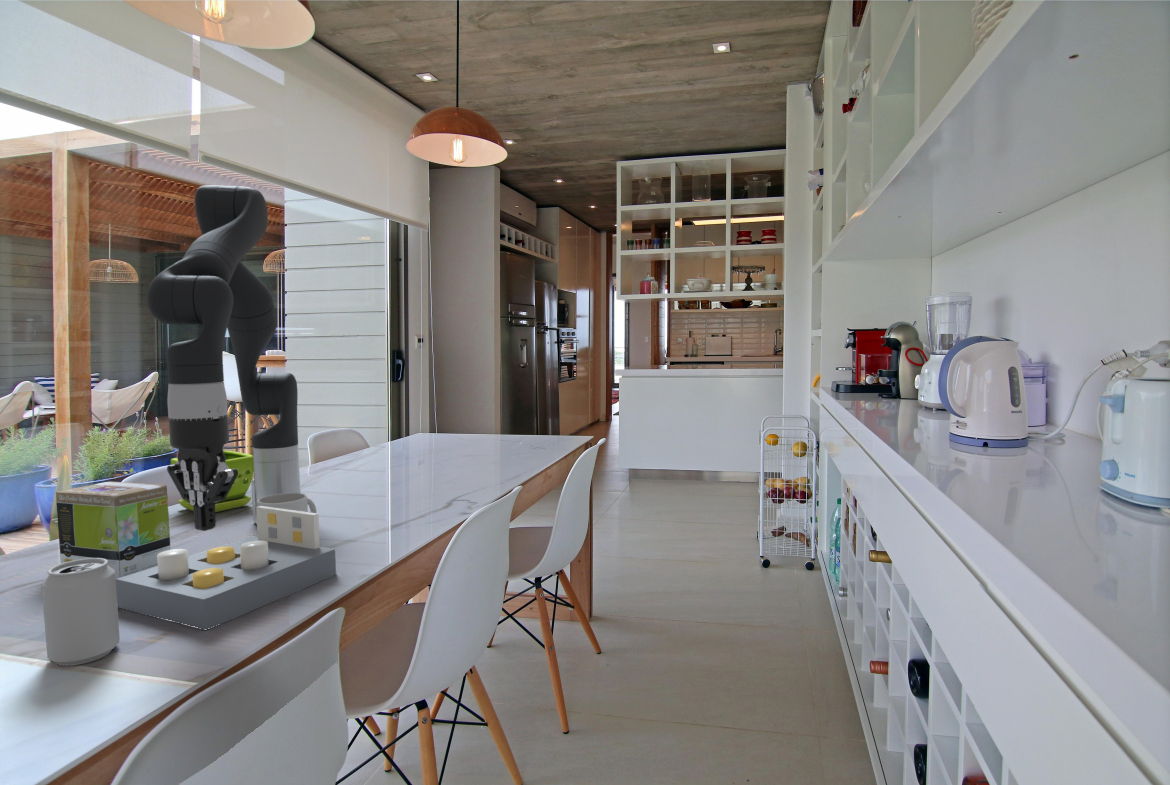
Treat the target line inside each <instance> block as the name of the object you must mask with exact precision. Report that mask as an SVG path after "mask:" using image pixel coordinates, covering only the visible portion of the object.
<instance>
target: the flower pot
mask: <svg viewBox="0 0 1170 785" xmlns="http://www.w3.org/2000/svg"><path fill="white" fill-rule="evenodd" d="M223 452H224V454H225V457H226V462H225V464H226V465H227V466H228V467H229V468H230V469H237V471H238V476H237V478H236V479H235V481H234V483H233V485H232V487H231V489H230V491H229V493H228V495H227V497H226V498H225V500H221V501H218V502H217V503H215V513H218V512H223V511H228V510H233V509H236V508H244V506H246V505H247V504H248V503H249V502H250V501H252V496H250V495H246V494H247V492H248V491H249V488H250V487H251V482H252V480H253V478H254V468H253V454H250V453H243V452H239V451H233V450H223ZM177 461H178V459H177V457H174V458H171V459H170V465H175V463H176V462H177ZM178 504H179V505H180V506H181V507H182V508H184V509H187V511H192V512H194V508H193V505H191V504H190V501H189V500H188V499H187V500H183V498H182V499H179V500H178Z"/></svg>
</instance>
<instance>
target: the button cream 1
mask: <svg viewBox="0 0 1170 785" xmlns="http://www.w3.org/2000/svg"><path fill="white" fill-rule="evenodd" d="M188 553H189V552H188V549H186V548H173V549H171V550H167V551H163V552H161V553H159V554H157V562H158V577H159V580H164V581H171V580H174V579H177V578H180V577H183V576H186V575H189V566H188V556H189V554H188Z"/></svg>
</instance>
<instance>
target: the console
mask: <svg viewBox="0 0 1170 785" xmlns="http://www.w3.org/2000/svg"><path fill="white" fill-rule="evenodd" d="M256 511H257V524H256V527H257V528H256V529H257V535H251V536H248V537H247V536H246V537H245V538H241V539H239V540H235V541H232V542H229V543H225V544H222V545H219V546H217V547H213V548H210V549H207V550H206V549H205V550H204V551H200V552H197V553H194V554H190V555H188V566H189V575H186V576H183V577H180V578H177V579H174V580H171V581H164V580H159V577H158V566H155V567H152V568H149V569H146V570H143V571H140V572H136V573H133V574H130V575H127V576H124V577H120V578H117V579H115V580H116V594H117V608H118V607H119V608H118V609H121V608H122V609H121V610H124V609H126V610H125V611H128V610H130V611H129V612H132V611H134V612H133V613H136V612H138V613H137V614H140V613H143V614H142V615H144V614H147V615H151V616H155V617H159V618H163V619H168V620H172V621H175V622H179V623H183V624H187V625H190V626H195V627H198V628H201V629H208V628H211V627H213V626H216V625H218V624H220V625H222V624H221V623H223V624H225V623H227V622H230V621H232V620H234V619H236V617H237V618H238V617H239V618H240V617H241V616H243V615H245V613H246V614H248V613H250V612H253V611H255V610H257V609H260V608H261V607H265V606H267V605H269V604H271V603H274V602H276V601H278V600H281V599H282V598H286V597H288V596H289V595H292V594H294V593H297V592H299V591H301V590H304V589H305V588H308V587H310V586H313V585H315V584H318V583H319V582H321V581H324V580H326V579H329V578H331V577H333V576H336V575H337V566H336V548H331V547H326V546H321V544H320V542H321V540H320V524H319V523H320V520H319V513H318V512H317V513H311V511H310V512H309V511H308V512H303V511H295V510H288V509H281V508H273V507H266V506H259V507H256ZM260 540H261V541H267V542H268V558H269V566H266V567H263V568H261V569H258V570H255V571H247V570H242V569H241V558H240V545H241V544H243V543H246V542H250V541H260ZM218 547H234V551H235V559H233V560H230V561H227V562H224V563H221V564H218V565H216V564H211V563H207V551H208V550H211V549H214V548H218ZM210 568H221V569H223V575H224V582H223V583H220V584H217V585H215V586H212V587H209V588H207V589H200V588H195V587H193V574H194V573H195V572H197V571H200V570H204V569H210ZM273 601H274V602H273ZM147 615H146V616H147ZM151 616H150V617H151ZM155 617H154V618H155ZM159 618H158V619H159ZM163 619H162V620H163ZM231 619H232V620H231ZM229 620H230V621H229ZM224 622H225V623H224ZM218 626H219V625H218ZM216 627H217V626H216ZM213 628H214V627H213ZM201 629H200V630H201ZM211 629H212V628H211Z"/></svg>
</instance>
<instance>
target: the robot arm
mask: <svg viewBox="0 0 1170 785" xmlns="http://www.w3.org/2000/svg"><path fill="white" fill-rule="evenodd" d="M194 193H195V194H194V209H195V210H194V211H195V215H196V218H197V220H196V221H197V223H198V225H199V229H200V230H199V231H200V233H201V235H200V236H199V237H198V238H196V239H195V240H194V241H193V242H192V243H191V244H190V246H189V247H188V248H187V250H186V252H185V254H184V256H183V257H182V259H180V260H178V261H177V262H174V263H173V264H172V265H170V266H168V267H167V268H165V269H164V270H162V271H161V272H159V273H158V274H157V275H156V276H155V277H154V279H152V281H151V283H150V285H149V286H148V289H147V292H146V305H147V308H148V310H149V312H150V314H151V315H152V316H153V317H154V319H155V320H157V321H159V322H160V323H163V324H166V325H170V326H171V325H173V326H182V325H186V326H188V325H189V326H191V325H195V326H196V325H199V326H201V325H203V326H202V327H203V328H202V330H201V332H200V334H199V335H198V336H197V337H195V338H192V339H188V340H184V341H179V342H174V343H172V344H170V345H169V346H168V348H167V349H166V365H167V380H168V386H167V387H168V390H167V415H168V416H167V417H168V431H169V444H170V446H171V447H172V448H174V449H178V452H177V455H176V458H177V459H178V461H177V462H176V463H175V465H171V464H170V465H167V467H166V470H167V473H168V475H169V476H170V478H171V481H172V482H173V484H174V486H175V487H176V489H177V491H178V492H179V495H180V496H181V498H182V499H183V500H187V499H188V500H189V501H190V504H191V505H193V508H194V511H193V522H194V529H195V530H197V531H202V532H203V531H204V532H206V531H208V530H209V531H210V530H212V529H214V528H215V527H216V522H217V520H216V512H215V503H217V502H218V501H221V500H225V498H226V497H227V495H228V493H229V491H230V489H231V487H232V485H233V483H234V481H235V479H236V478H237V476H238V471H237V469H230V468H229V467H228V466H227V465H226V464H225V462H226V457H225V454H224V452H223V451H224V445H227V444H228V443H229V442H230V430H229V429H230V428H229V427H230V426H229V412H228V397H227V392H226V388H225V378H224V377H225V375H224V362H223V358H224V356H223V352H224V344H225V340H226V339H225V338H226V334H227V333H228V335H229V339H230V343H231V346H232V349H233V353H234V359H235V364H236V371H237V378H238V384H239V390H240V395H241V397H240V398H241V403H242V406H243V407H244V409H245V411H246V412H247V413H248V414H249V415H251V416H276V415H277V416H278V415H280V418H279V421H278V422H276V423H275V424H274V425H271V426H270V427H268V428H266V429H262V430H260V431H257V432H255V433H254V434H253V435H252V438H251V446H252V455H253V468H254V472H253V479H252V481H251V484H250V487H251V501H252V502H251V504H252V522H253V523H254V524H256V525H257V511H256V507H257V500H258V499H259V498H262V497H265V496H268V495H273V494H280V493H302V492H301V478H300V477H301V475H300V474H301V473H300V461H299V460H300V454H299V453H300V452H299V435H298V433H299V431H298V400H299V398H298V396H299V395H298V383H297V379H296V377H295V375H294V374H292V373H289V372H263V373H261V372H260V373H259V371H257V364H258V362H259V359H260V357H261V355H262V353H263V352H264V350H265V348H266V347H267V345H268V344H269V343H270V341H271V339H272V338H273V336H274V335H275V332H276V330H277V326H278V324H277V323H278V322H277V315H276V309H275V304H274V299H273V295H272V294H271V292H270V290H269V288H268V287H267V286H266V285H265V283H263V281H262V280H261V279H259V277H258V276H257V275H256V274H255V273H253V271H252V270H250V268H248V267H247V266H246V264H245V263H244V262H243V261H242V259H243V258H244V257H245V256H246V255H247V254H248V253H249V252H250V251H251V249H253V247H254V246H256V244H257V243H258V242H259V241H260V240H261V239H262V238H263V237H264V235H265V233H266V231H267V227H268V221H269V220H268V218H269V216H268V206H267V202H266V199H265V197H264V195H263V193H262V192H261V191H259V190H258V189H257V188H255V187H254V188H253V187H249V186H240V185H239V186H234V185H213V184H212V185H210V184H209V185H205V184H204V185H201V186H199V187H198V188H197V189H196V191H195V192H194ZM227 331H228V332H227Z"/></svg>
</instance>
